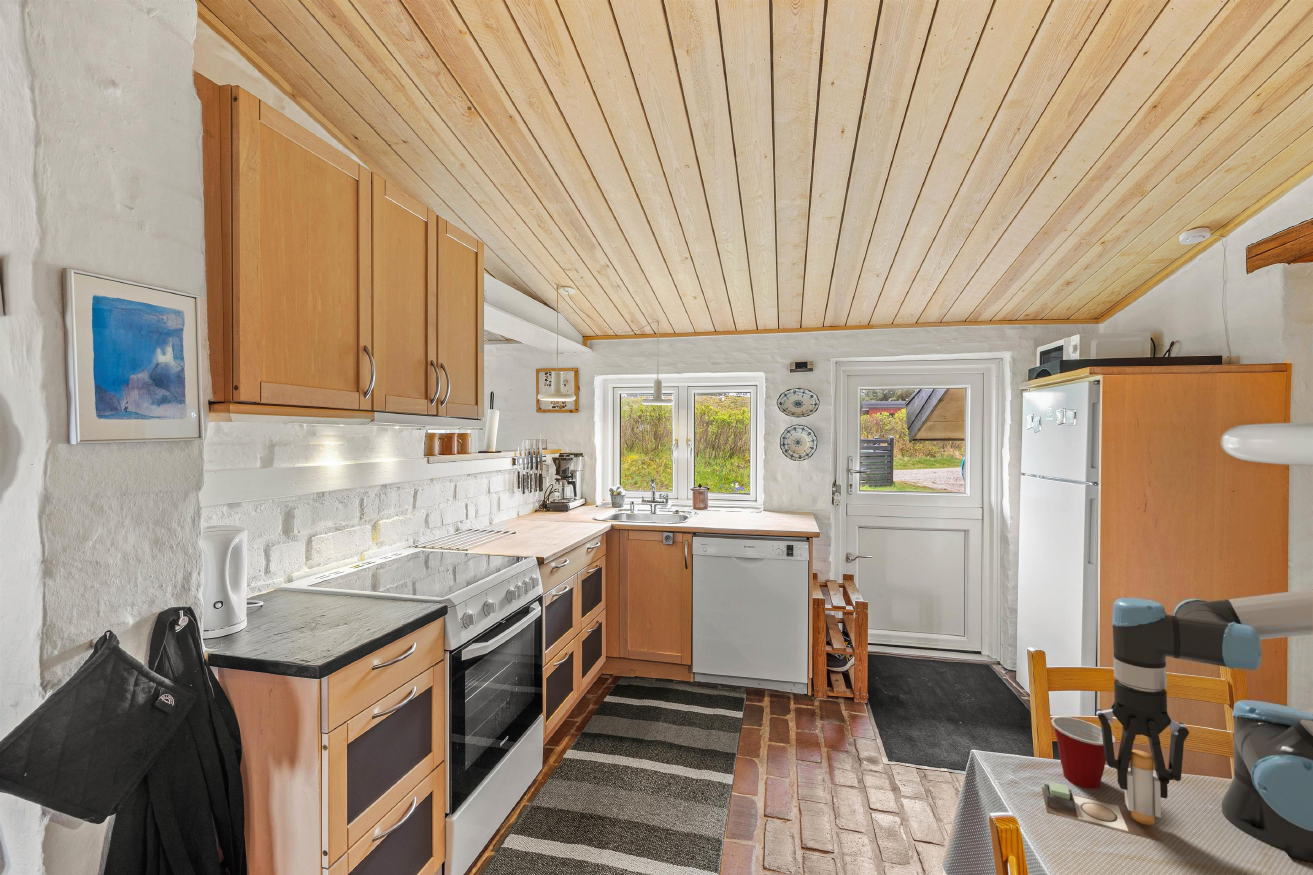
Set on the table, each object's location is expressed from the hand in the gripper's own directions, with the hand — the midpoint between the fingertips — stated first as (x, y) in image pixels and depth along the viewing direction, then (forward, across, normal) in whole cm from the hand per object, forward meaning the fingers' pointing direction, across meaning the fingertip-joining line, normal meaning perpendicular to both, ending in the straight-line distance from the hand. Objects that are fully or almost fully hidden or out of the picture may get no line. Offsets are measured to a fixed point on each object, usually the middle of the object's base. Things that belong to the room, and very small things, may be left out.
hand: (1142, 809), depth 106 cm
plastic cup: (+4, +7, -12) cm, 14 cm away
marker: (+2, 0, 0) cm, 2 cm away
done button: (+2, +13, 0) cm, 13 cm away
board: (+4, +7, 0) cm, 8 cm away
